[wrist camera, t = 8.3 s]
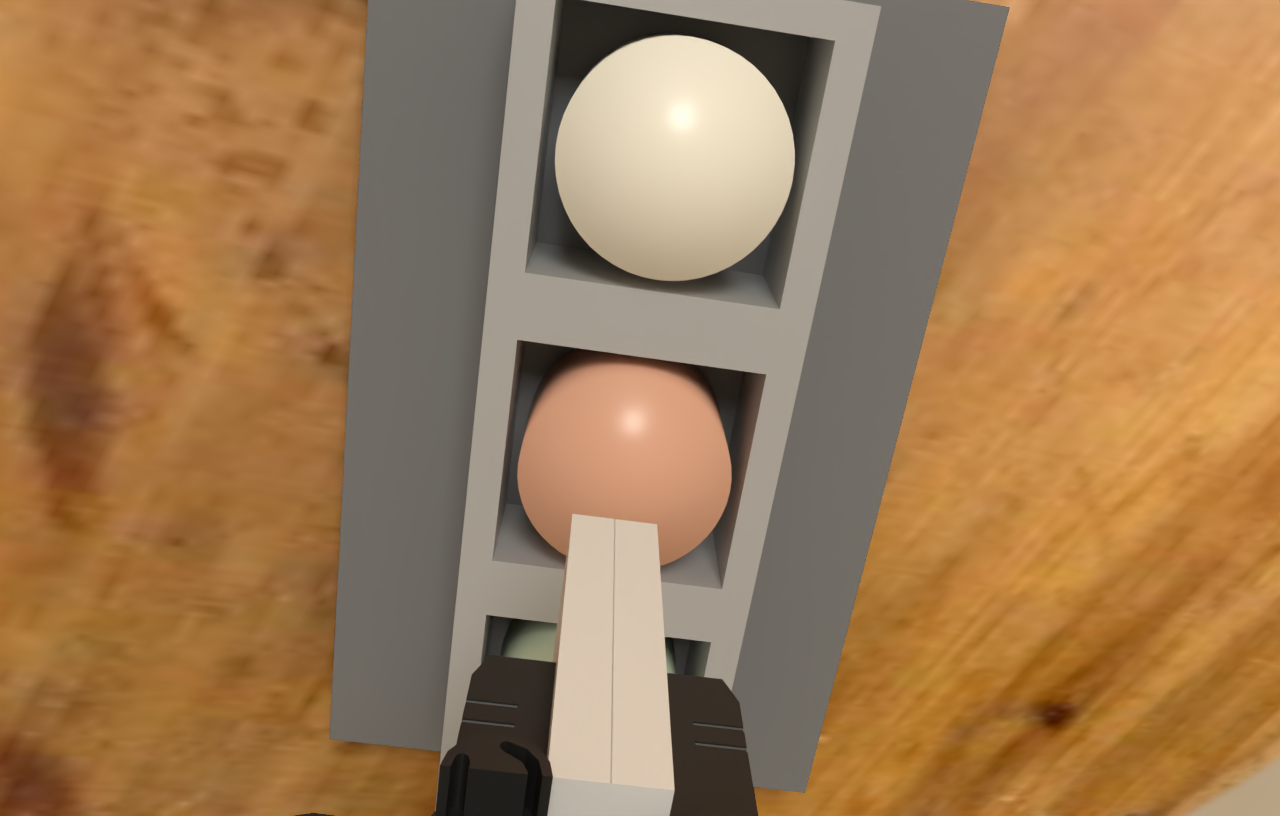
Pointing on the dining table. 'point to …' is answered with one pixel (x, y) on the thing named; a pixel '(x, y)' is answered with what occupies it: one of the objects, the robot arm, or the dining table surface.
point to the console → (634, 341)
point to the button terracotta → (625, 449)
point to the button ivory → (674, 157)
